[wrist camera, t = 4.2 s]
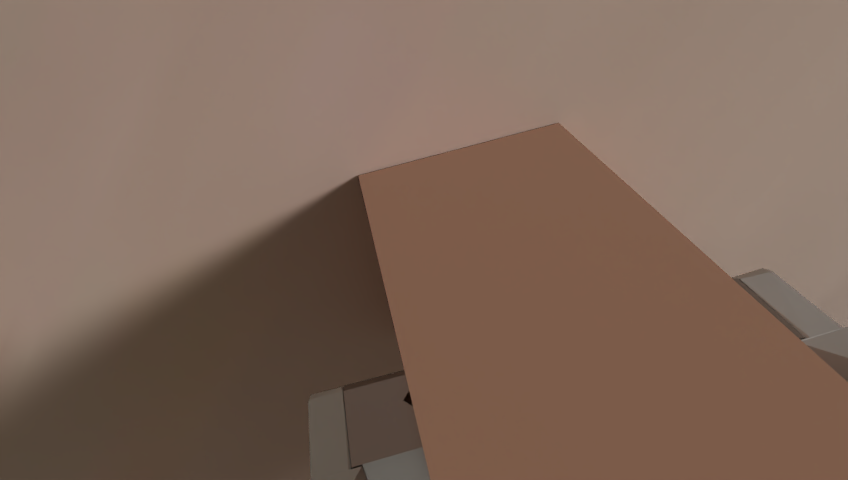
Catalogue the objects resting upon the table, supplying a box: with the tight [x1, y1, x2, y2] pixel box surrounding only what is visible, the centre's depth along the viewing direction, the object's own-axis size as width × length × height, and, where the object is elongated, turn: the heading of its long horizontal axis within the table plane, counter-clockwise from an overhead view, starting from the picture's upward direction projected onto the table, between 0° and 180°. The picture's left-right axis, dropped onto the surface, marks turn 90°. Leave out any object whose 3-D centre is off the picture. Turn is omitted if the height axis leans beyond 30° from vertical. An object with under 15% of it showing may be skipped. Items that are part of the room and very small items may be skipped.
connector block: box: [358, 123, 848, 480], centre depth 9 cm, size 4×4×10 cm
